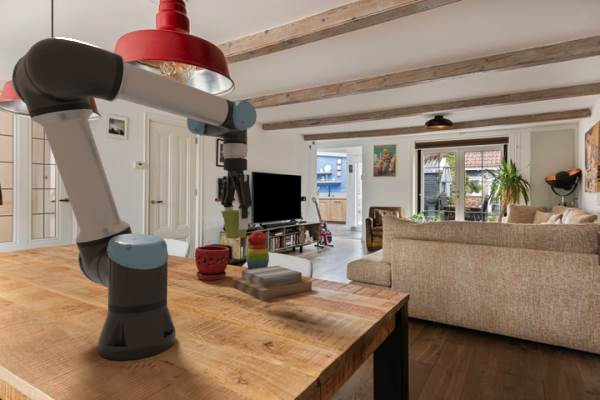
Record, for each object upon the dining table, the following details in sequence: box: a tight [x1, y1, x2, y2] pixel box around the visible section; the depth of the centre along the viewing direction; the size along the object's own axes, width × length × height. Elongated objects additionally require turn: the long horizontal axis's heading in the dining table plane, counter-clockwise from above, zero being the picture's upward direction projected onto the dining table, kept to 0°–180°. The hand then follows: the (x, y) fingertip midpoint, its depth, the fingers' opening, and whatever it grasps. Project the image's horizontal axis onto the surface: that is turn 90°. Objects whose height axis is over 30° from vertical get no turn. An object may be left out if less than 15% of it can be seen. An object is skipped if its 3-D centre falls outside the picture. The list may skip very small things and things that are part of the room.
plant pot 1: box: [194, 245, 230, 281], centre depth 138 cm, size 13×13×12 cm
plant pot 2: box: [220, 209, 251, 240], centre depth 112 cm, size 9×9×9 cm
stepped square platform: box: [232, 265, 313, 301], centre depth 122 cm, size 20×20×6 cm
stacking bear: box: [245, 230, 270, 270], centre depth 146 cm, size 11×10×18 cm
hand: (235, 228), depth 112 cm, fingers closed on plant pot 2, 9 cm apart
